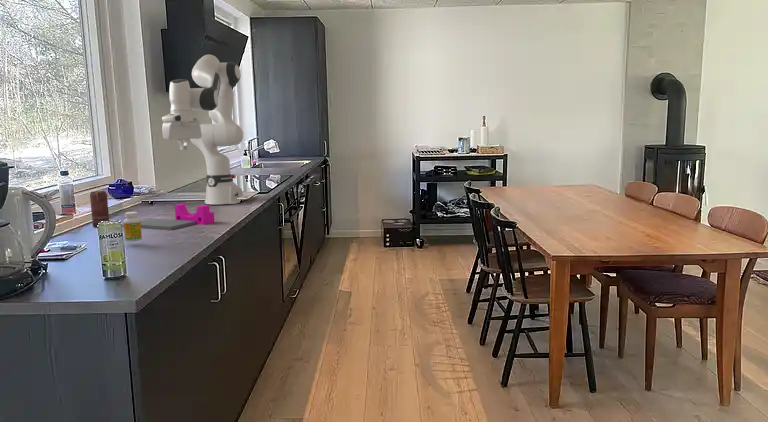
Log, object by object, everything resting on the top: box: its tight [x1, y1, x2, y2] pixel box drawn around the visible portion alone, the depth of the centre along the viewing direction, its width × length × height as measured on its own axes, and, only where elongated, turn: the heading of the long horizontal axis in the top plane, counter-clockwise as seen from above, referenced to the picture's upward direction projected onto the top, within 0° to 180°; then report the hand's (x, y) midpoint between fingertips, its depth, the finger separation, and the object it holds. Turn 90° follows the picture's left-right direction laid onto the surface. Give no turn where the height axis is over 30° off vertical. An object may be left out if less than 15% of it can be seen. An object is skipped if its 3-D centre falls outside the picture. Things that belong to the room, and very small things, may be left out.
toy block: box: [174, 203, 215, 226], centre depth 236 cm, size 15×6×8 cm, turn 65°
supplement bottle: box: [123, 211, 143, 242], centre depth 200 cm, size 5×5×10 cm
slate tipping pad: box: [140, 217, 197, 231], centre depth 231 cm, size 14×24×1 cm, turn 67°
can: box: [89, 190, 110, 228], centre depth 230 cm, size 6×6×14 cm
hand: (183, 149), depth 250 cm, fingers closed
